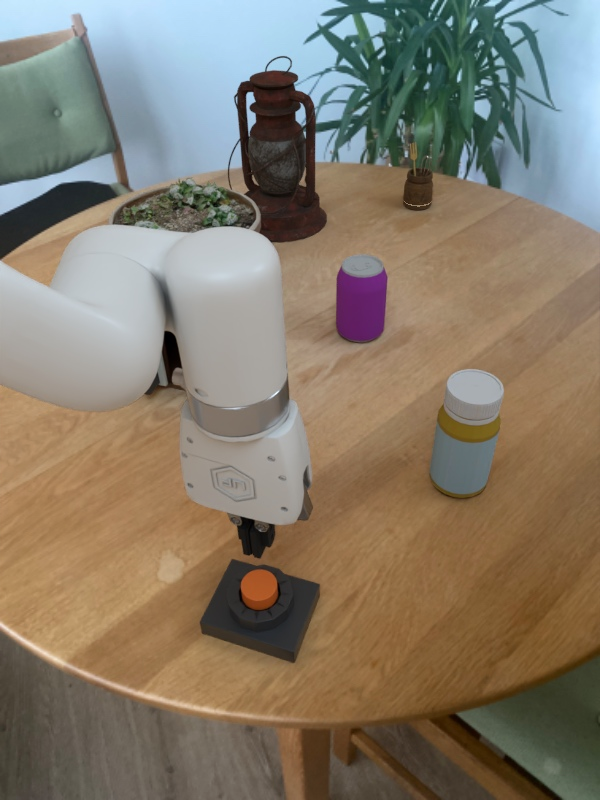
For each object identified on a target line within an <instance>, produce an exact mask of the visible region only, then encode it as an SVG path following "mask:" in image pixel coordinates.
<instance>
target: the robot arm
mask: <svg viewBox="0 0 600 800" xmlns="http://www.w3.org/2000/svg"><path fill="white" fill-rule="evenodd" d="M282 273H283V272H282V265H281V258H280V255H279V253H278V251H277V248H276V246H275V245H274V243H273V242H270V241H269V240H268V239H267V238H266V237H265V236H263V235H262V234H260V233H258V232H255V231H253V230H250V229H246V228H241V227H231V226H228V227H214V228H208V229H204V230H200V231H197V232H194V233H188V232H175V231H167V230H159V229H151V228H144V227H137V226H127V225H108V224H101V225H97V226H92V227H88V228H86V229H85V230H83V231H80V232H79V233H78V234H76V235H75V236H74V237H73V238H72V239H71V240H70V242H69V243H68V244H67V245H66V247H65V249H64V250H63V253H62V255H61V257H60V260H59V262H58V265H57V267H56V270H55V273H54V275H53V277H52V279H51V280H50V284H49V286H48V285H46V284H44V283H42V282H39V281H38V280H36V279H33V278H32V277H30V276H27V275H25V274H23V273H22V272H21V271H19V270H17V269H15V268H13V267H12V266H10V265H8V264H7V263H5V262H4V261H2V260H0V386H3V387H4V388H7V389H10V390H12V391H15V392H17V393H20V394H22V395H24V396H27V397H29V398H32V399H35V400H38V401H40V402H44V403H47V404H50V405H53V406H56V407H59V408H64V409H67V410H72V411H79V412H84V413H86V412H87V413H108V412H114V411H117V410H121V409H124V408H127V407H129V406H131V405H132V404H133V403H135V402H136V401H138V400H140V399H141V398H142V397H144V395H145V394H144V393H145V392H146V391H147V390H148V389H149V388H150V386H151V384H152V382H153V380H154V379H155V376H156V374H157V371H158V367H159V363H160V358H161V353H162V347H163V339H164V331H170V332H172V333H173V334H174V335H175V337H176V339H177V344H178V348H179V353H180V358H181V364H182V369H181V368H176V369H175V370H174V372H173V375H172V382H173V384H174V385H179V386H181V387H182V388H184V389H185V391H184V392H185V396H186V399H185V400H184V402H183V403H182V405H181V408H180V415H179V416H180V417H179V434H178V435H179V436H178V437H179V439H178V440H179V441H178V442H179V444H178V445H179V446H178V447H179V448H178V449H179V459H180V469H181V475H182V481H183V486H184V490H185V493H186V495H187V497H188V498H189V499H190V500H191V501H192V502H194V503H196V504H198V505H200V506H202V507H205V508H209V509H212V510H216V511H219V512H223V513H226V515H227V518H228V520H229V521H230V523H231V524H232V525H235V526H236V530H237V531H236V532H237V537H238V540H240V542H241V546H242V547H241V549H242V553H243V555H244V556H253V557H254V558H256V559H259V560H261V559H262V556H263V554H264V552H265V550H266V548H271V547H272V546H273V544H274V541H275V539H276V526H289V525H293V524H296V522H297V521H304V522H307V521H309V519H310V517H311V515H312V512H313V510H314V505H313V503H312V500H311V497H310V493H309V492H308V491H309V490H310V489H311V488H312V485H313V468H312V467H313V466H312V460H311V459H312V458H311V451H310V446H309V445H310V444H309V440H308V435H307V431H306V427H305V423H304V420H303V417H302V414H301V411H300V409H299V406H298V403H297V402H296V400H294V399H293V398H290V384H289V368H288V352H287V339H286V338H287V337H286V325H285V323H286V322H285V310H284V309H285V308H284V307H285V306H284V292H283V290H284V289H283V275H282ZM275 525H276V526H275Z"/></svg>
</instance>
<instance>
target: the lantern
mask: <svg viewBox="0 0 600 800" xmlns="http://www.w3.org/2000/svg"><path fill="white" fill-rule="evenodd" d="M278 59H288V61H289V62H290V63H289V64H290V65H289V66H288V68H287V70H277V69H276V70H275V69H272V70H268V67H269V66H270V65H271V63H273V62H274V61H276V60H278ZM292 67H293V60H292V59H291V58H290V57H289V56H287V55H280V56H276V57H274V58H272V59H271V60H270V61H269V62H268V63H267V64H266V66H265V69H264V71H261V72H256V73H254V74H252V75H251V76H249V79H248V80H244V81H241V82H240V83H239V86H238V88H237V92H236V94H234V95H233V101H234V105H235V107H236V111H237V121H238V132H239V139H238V140H237V142H236V143H235V145H234V147H233V148H232V151H231V153H230V157H229V158H228V159H229V160H228V165H227V180H228V184H229V189H231V190H233V188H232V184H231V179H230V178H231V177H230V168H231V162H232V157H233V155H234V152H235V150H236V148H237V146H238V145H239V144H240V157H241V170H242V175H243V181H244V185H245V186H246V188H247V189H248V190H247V191H246V192H245V193H243V194H244V195H246V196H247V197H249V198H250V199H252V200H253V201H254V202H255V204H256V205H257V207H258V208H259V211H260V214H261V229H260V232H259V233H260V234H262V235H263V236H265V237H266V238H267V239H268V240H269V241H270V242H271V243H286V242H288V243H289V242H295V241H299V240H304V239H307V238H309V237H312V236H315V235H316V234H317V233H320V232H321V231H322V230H323V229H324V228H325V226H326V224H327V223H328V220H327V219H328V217H327V216H328V215H327V213H326V212H325V210H324V209H323V208H322V207H321V205H320V201H321V199H320V198H321V197H320V195H319V193H318V192H317V191H316V131H317V129H316V128H317V127H316V126H317V124H316V123H317V118H316V108H315V104H314V101H313V99H312V97H311V96H310V95H308V93H305V92H303V91H301V90H296V87H295V84H296V83H297V82H298V81H299V75H298V74H297V73H295V72H292V71H290V70H291V68H292ZM248 93H252V96H253V99H254V102H252V103H251V104H250V105H249V111H250V112H251V113H253V114H255V123H253V125H251V127H250V130H249V122H248V109H247V95H248ZM302 106H303V108H304V112H305V113H304V115H305V123H304V125H303V126H302V125H301V124H300V123H299V122H298V120H297V118H296V117H297V113H296V112H298V111H299V110H301V108H302ZM304 130H305V133H304ZM304 173H305V176H304ZM303 177H304V183H305V185H302V184H300V183H301V181H302V179H303ZM253 178H254V180H255V181H254V180H253ZM255 182H256V183H255Z"/></svg>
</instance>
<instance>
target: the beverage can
mask: <svg viewBox="0 0 600 800" xmlns="http://www.w3.org/2000/svg"><path fill="white" fill-rule="evenodd" d="M388 278H389V277H388V273H387V272H386V269H385V265H384V263H383V260H382V259H380V258H379V257H377V256H374V255H371V254H365V253H363V254H362V253H360V254H354V255H350V256H348V257H346V258H344V259H343V260H342V263H341V265H340V267H339V270H338V272H337V274H336V291H335V293H336V294H335V295H336V297H335V327H336V331H337V333H338V334H339V335H340V336H341V337H343V338H344V339H346V340H348V341H350V342H355V343H368V342H371V341H374V340H375V339H376V338H378V337H380V336H381V335H382V334H383V332H384V329H385V321H386V305H387V292H388Z"/></svg>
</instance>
